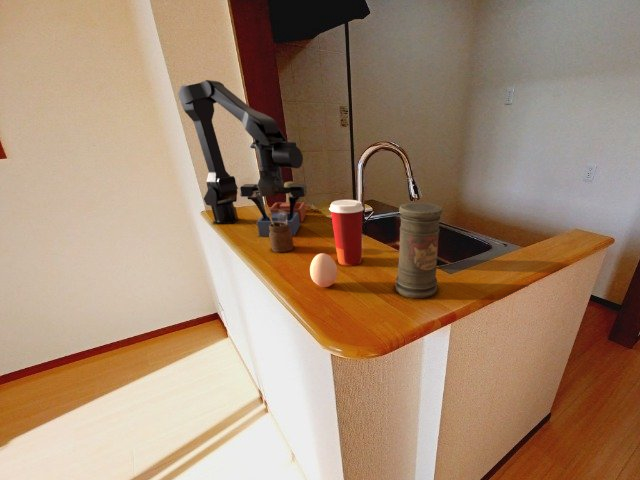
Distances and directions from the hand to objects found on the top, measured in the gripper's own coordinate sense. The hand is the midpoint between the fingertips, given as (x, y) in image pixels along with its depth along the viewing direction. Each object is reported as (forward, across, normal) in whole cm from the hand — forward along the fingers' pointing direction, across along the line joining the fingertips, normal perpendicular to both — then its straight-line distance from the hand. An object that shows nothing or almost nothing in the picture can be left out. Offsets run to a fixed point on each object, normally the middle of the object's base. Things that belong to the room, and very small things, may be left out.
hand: (278, 218), depth 102 cm
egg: (+4, +18, -41) cm, 45 cm away
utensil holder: (+4, +4, -17) cm, 18 cm away
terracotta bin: (+4, 0, +15) cm, 16 cm away
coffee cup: (+4, +23, -27) cm, 36 cm away
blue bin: (+4, 0, 0) cm, 4 cm away
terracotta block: (+4, 0, +15) cm, 15 cm away
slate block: (+4, 0, 0) cm, 4 cm away
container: (+4, +38, -44) cm, 58 cm away
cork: (+4, 0, +26) cm, 26 cm away
